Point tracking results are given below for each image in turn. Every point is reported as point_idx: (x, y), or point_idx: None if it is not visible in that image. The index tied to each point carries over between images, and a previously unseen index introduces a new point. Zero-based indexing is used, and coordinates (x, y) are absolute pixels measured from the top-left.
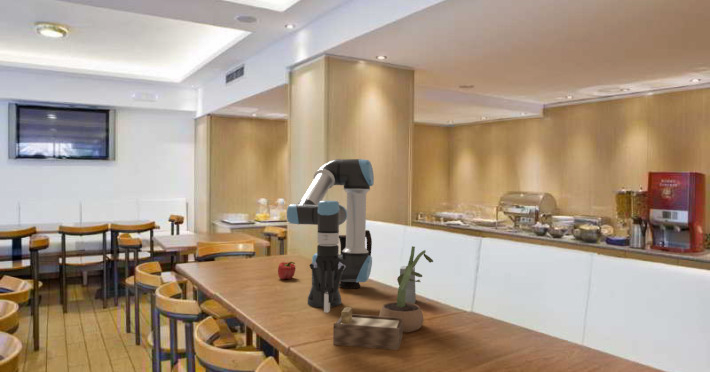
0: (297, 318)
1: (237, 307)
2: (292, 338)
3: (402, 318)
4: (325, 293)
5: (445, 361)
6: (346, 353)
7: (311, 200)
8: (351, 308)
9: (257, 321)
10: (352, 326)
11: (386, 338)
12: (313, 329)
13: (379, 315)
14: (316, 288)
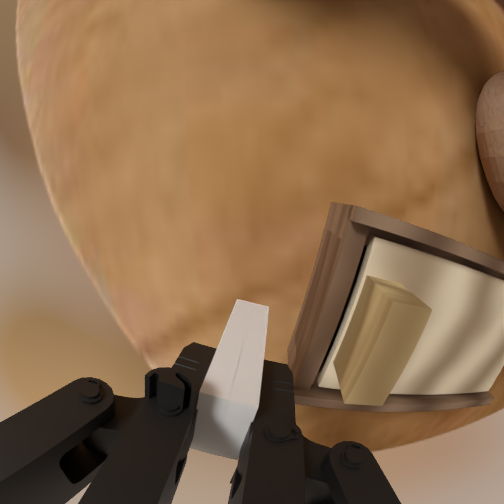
0: (131, 39)
1: (17, 32)
2: (129, 279)
3: None
4: (201, 441)
5: (496, 401)
6: (324, 410)
7: None
8: (424, 325)
9: (29, 112)
10: (372, 407)
11: None
12: (193, 159)
13: (496, 134)
14: (83, 444)
